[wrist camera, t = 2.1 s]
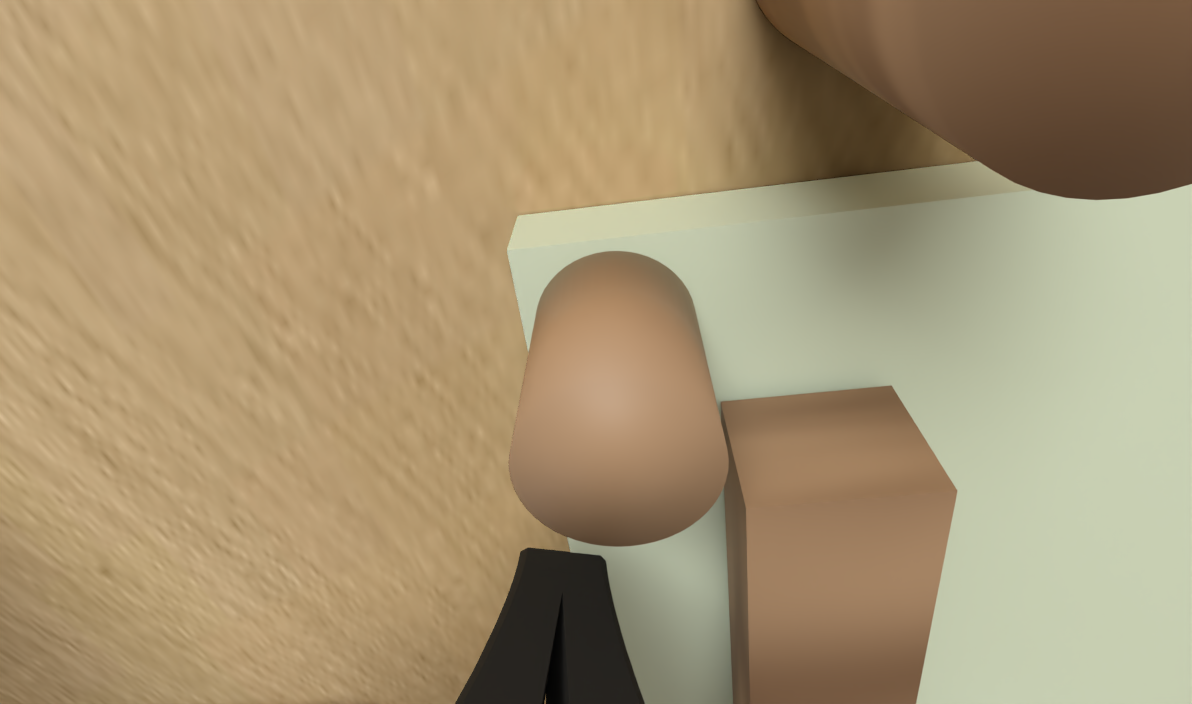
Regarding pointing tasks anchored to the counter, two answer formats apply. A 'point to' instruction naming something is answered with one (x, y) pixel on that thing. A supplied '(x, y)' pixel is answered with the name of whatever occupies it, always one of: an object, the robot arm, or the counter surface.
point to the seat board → (924, 385)
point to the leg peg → (1025, 82)
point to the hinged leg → (831, 547)
